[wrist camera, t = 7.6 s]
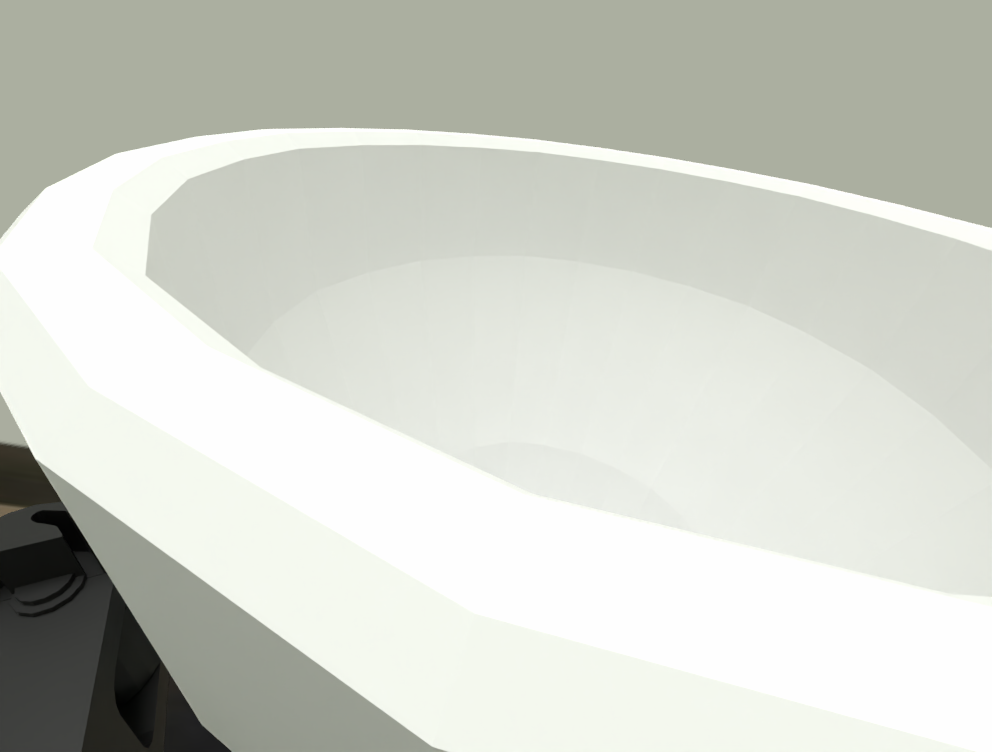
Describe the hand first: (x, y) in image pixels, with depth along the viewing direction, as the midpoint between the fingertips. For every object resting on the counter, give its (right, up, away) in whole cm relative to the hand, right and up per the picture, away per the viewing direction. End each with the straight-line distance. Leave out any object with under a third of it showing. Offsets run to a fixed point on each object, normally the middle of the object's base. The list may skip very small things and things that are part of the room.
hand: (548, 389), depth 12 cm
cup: (-1, -10, +1) cm, 10 cm away
